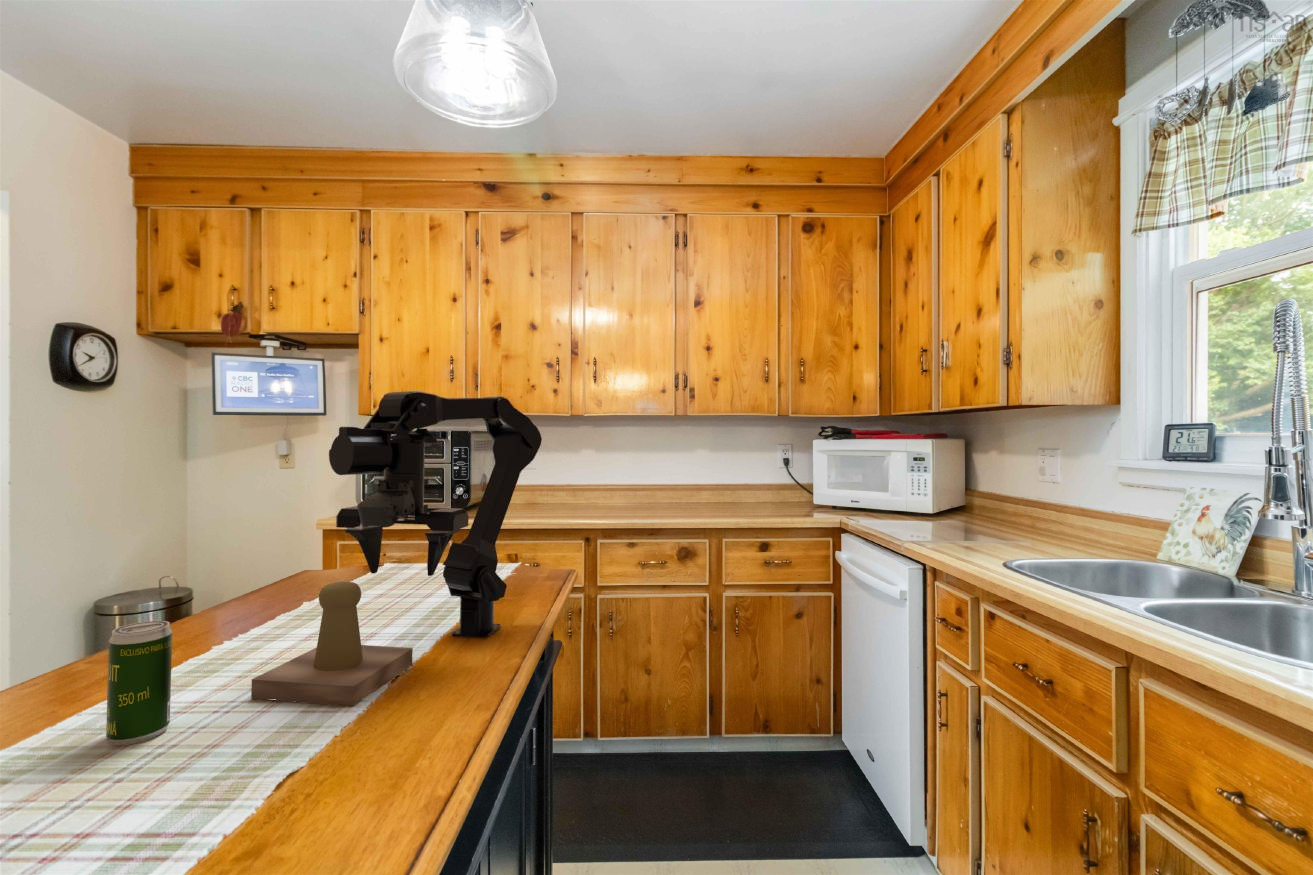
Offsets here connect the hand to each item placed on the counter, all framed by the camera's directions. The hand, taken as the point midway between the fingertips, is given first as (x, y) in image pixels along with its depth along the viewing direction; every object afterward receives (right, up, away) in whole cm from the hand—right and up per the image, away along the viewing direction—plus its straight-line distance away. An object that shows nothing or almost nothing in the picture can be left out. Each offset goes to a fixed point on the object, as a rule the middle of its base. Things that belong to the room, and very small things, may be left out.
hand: (402, 574), depth 89 cm
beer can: (-19, -13, -24) cm, 33 cm away
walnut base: (-5, -13, -9) cm, 16 cm away
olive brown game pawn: (-5, -11, -9) cm, 14 cm away
